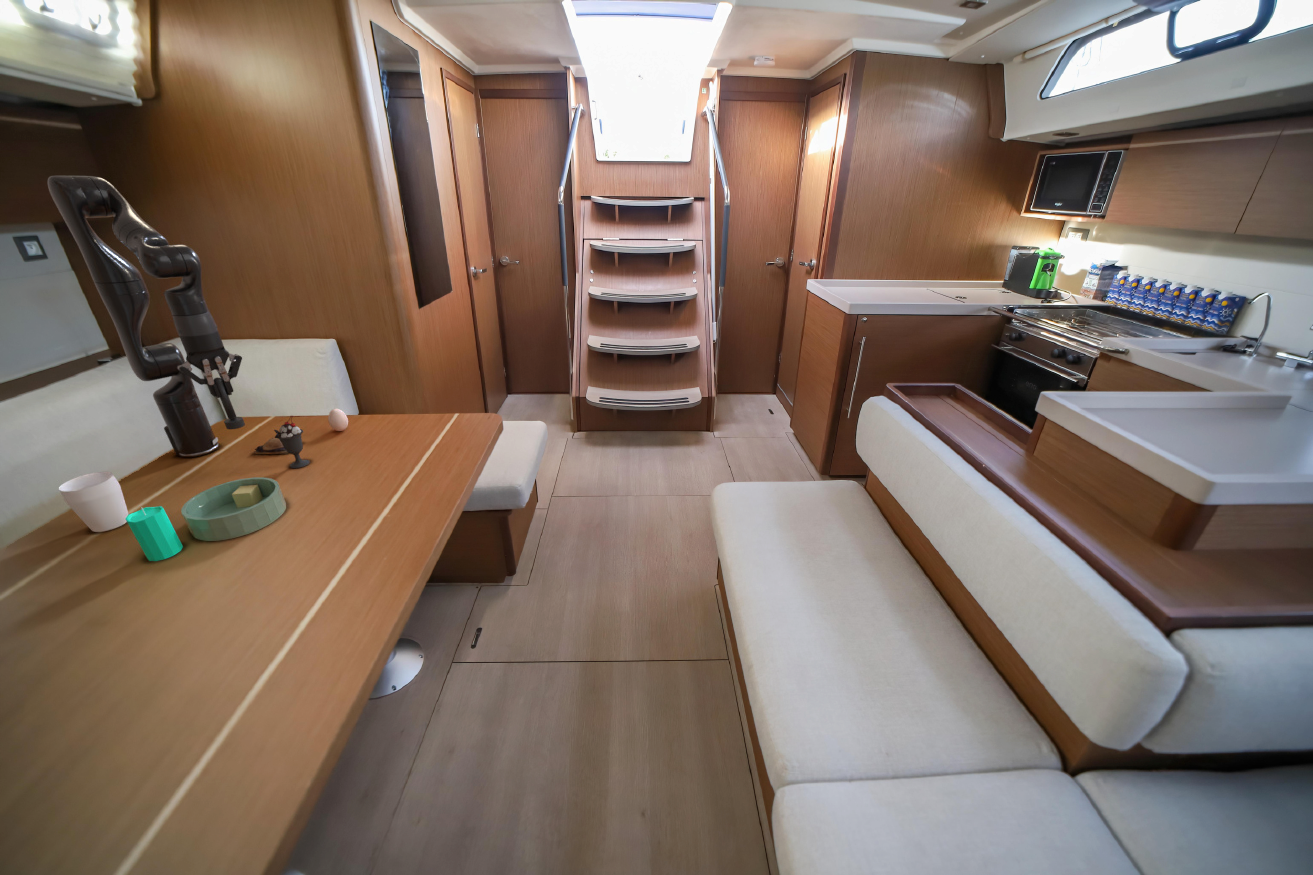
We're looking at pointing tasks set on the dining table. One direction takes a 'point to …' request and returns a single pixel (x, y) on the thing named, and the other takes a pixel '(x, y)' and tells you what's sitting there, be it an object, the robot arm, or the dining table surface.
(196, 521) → the bowl
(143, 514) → the candle
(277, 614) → the dining table surface
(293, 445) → the sundae
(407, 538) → the dining table surface
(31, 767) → the dining table surface
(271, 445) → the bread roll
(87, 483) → the cup
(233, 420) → the dark grey plunger
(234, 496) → the block
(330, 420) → the egg
